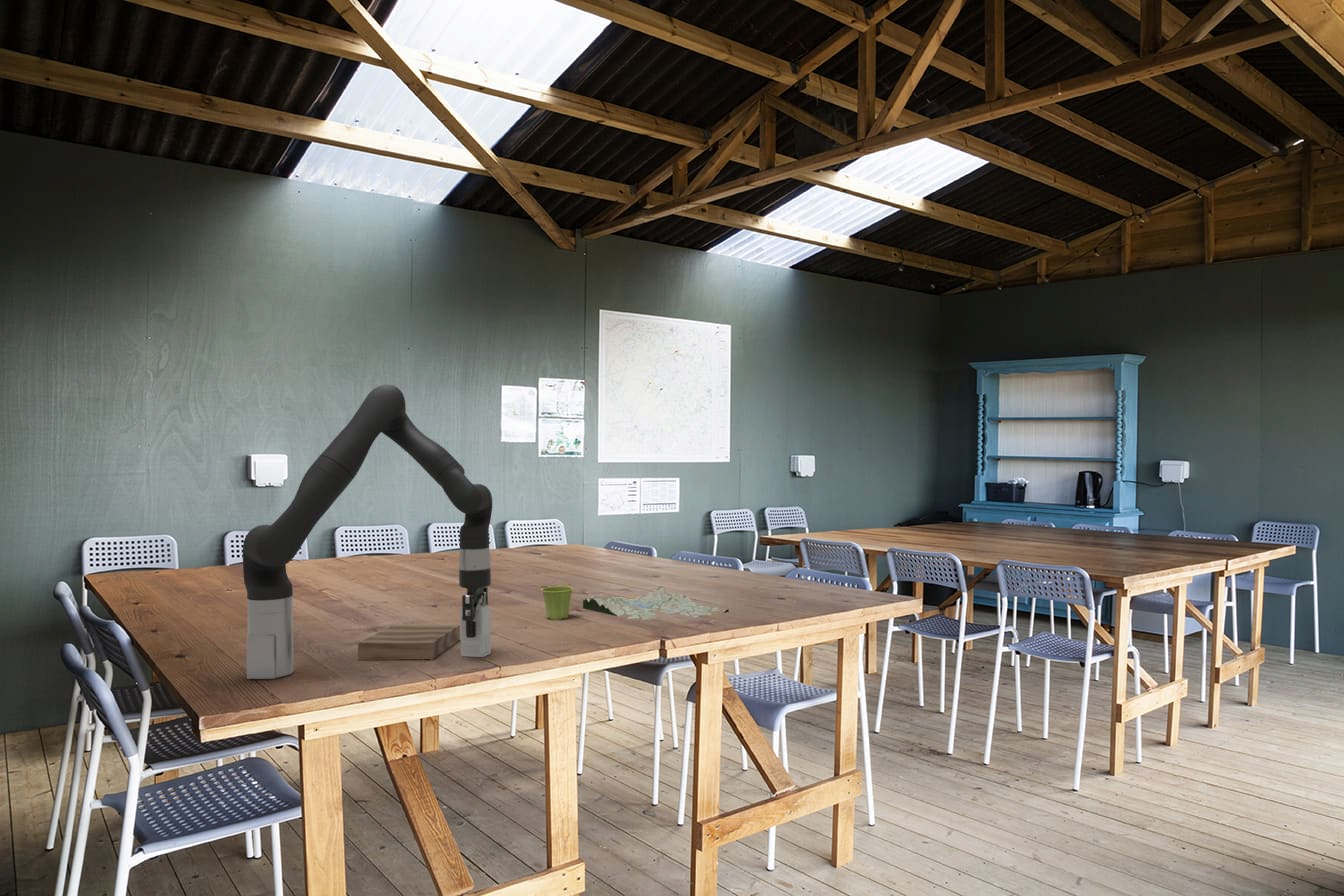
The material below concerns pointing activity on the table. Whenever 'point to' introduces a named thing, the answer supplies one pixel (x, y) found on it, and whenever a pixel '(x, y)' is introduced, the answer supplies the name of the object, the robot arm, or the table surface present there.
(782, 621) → the table surface
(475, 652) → the skincare box
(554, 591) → the plant pot
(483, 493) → the robot arm
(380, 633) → the walnut stand
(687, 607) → the topographic map model
